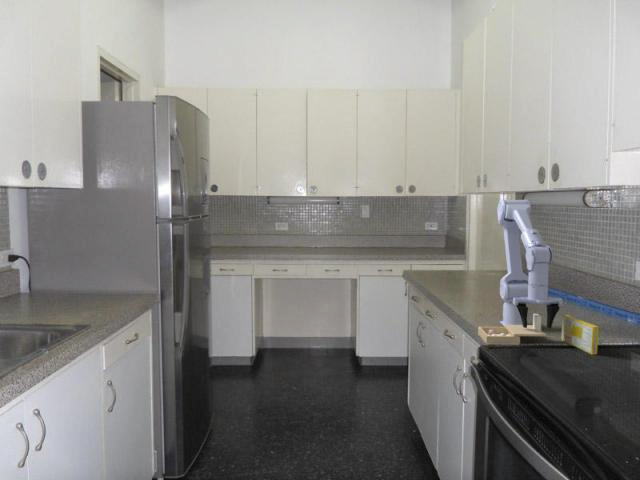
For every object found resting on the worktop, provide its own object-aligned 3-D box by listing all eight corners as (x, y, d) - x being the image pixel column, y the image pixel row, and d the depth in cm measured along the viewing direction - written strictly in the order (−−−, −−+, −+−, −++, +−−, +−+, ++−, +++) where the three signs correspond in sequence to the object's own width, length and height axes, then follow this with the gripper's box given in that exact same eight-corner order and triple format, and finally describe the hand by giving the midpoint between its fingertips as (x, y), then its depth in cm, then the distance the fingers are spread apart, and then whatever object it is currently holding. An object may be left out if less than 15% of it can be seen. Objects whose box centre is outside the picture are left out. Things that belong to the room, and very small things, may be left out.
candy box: (598, 355, 157) (599, 326, 156) (591, 355, 157) (592, 326, 156) (567, 339, 173) (567, 314, 172) (560, 340, 173) (561, 314, 172)
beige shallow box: (478, 334, 180) (478, 326, 180) (509, 334, 179) (509, 327, 179) (486, 344, 168) (486, 336, 168) (519, 345, 167) (520, 336, 167)
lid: (504, 326, 179) (504, 310, 178) (534, 326, 178) (534, 311, 178) (513, 335, 167) (514, 319, 167) (546, 336, 167) (546, 319, 166)
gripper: (517, 286, 168) (516, 330, 169) (566, 286, 167) (565, 330, 168) (511, 282, 175) (510, 324, 176) (558, 282, 174) (557, 325, 175)
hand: (536, 327), depth 172 cm, fingers open, 7 cm apart
